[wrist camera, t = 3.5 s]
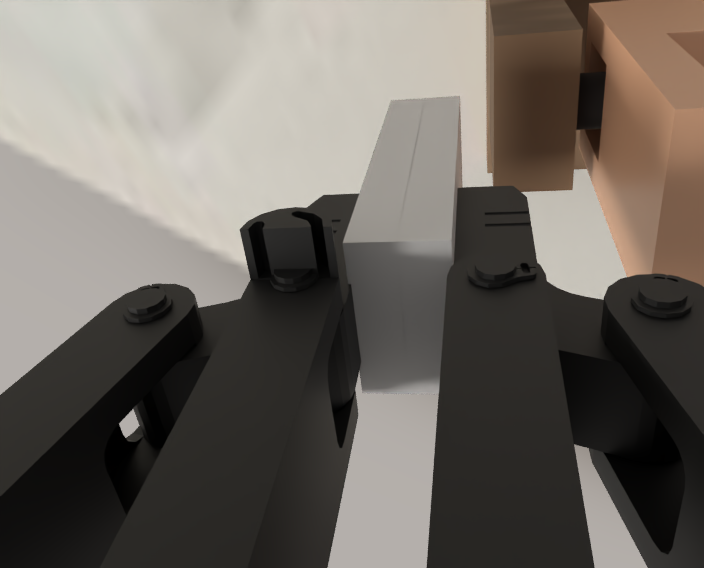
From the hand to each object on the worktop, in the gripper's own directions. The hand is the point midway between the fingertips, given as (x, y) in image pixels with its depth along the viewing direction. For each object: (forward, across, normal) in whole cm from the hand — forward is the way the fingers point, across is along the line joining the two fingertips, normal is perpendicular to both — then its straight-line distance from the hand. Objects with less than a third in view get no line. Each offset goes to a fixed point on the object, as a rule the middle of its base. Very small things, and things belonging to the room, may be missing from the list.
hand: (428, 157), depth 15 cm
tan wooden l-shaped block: (+5, -6, 0) cm, 8 cm away
